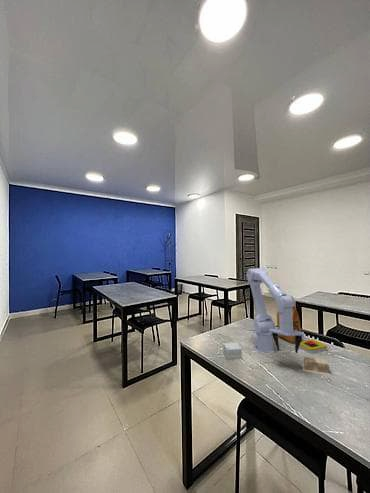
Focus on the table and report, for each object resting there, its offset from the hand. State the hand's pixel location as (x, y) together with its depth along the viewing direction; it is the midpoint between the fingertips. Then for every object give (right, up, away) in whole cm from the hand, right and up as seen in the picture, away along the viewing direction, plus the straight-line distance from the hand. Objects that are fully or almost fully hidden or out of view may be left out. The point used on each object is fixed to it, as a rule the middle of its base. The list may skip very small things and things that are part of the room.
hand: (287, 350), depth 99 cm
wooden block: (+7, -4, -3) cm, 8 cm away
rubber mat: (+7, -7, -3) cm, 10 cm away
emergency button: (+21, -7, +15) cm, 27 cm away
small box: (-23, -8, +12) cm, 27 cm away
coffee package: (+15, -7, +28) cm, 33 cm away
